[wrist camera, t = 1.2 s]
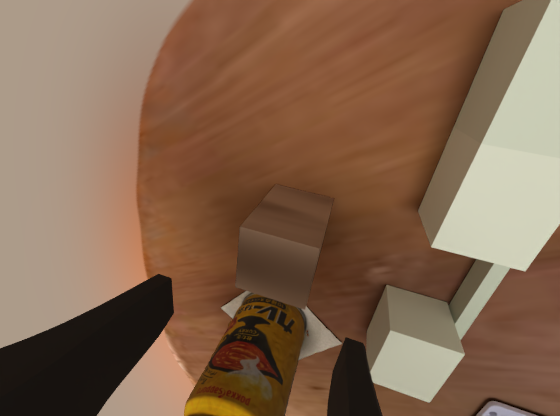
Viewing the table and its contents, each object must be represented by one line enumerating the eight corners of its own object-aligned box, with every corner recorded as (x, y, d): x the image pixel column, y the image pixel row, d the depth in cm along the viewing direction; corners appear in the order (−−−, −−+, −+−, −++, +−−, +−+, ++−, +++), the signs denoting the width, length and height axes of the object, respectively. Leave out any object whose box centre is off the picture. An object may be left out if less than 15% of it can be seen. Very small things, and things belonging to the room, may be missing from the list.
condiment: (274, 272, 22) (189, 450, 11) (342, 341, 23) (320, 560, 13) (221, 305, 25) (120, 464, 15) (282, 364, 27) (228, 549, 16)
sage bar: (433, 353, 21) (446, 408, 17) (366, 331, 22) (366, 380, 18) (643, 22, 11) (772, -2, 7) (503, 9, 12) (560, -18, 8)
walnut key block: (321, 247, 20) (305, 309, 14) (269, 233, 20) (235, 287, 15) (334, 197, 18) (320, 248, 12) (275, 184, 18) (239, 226, 13)
